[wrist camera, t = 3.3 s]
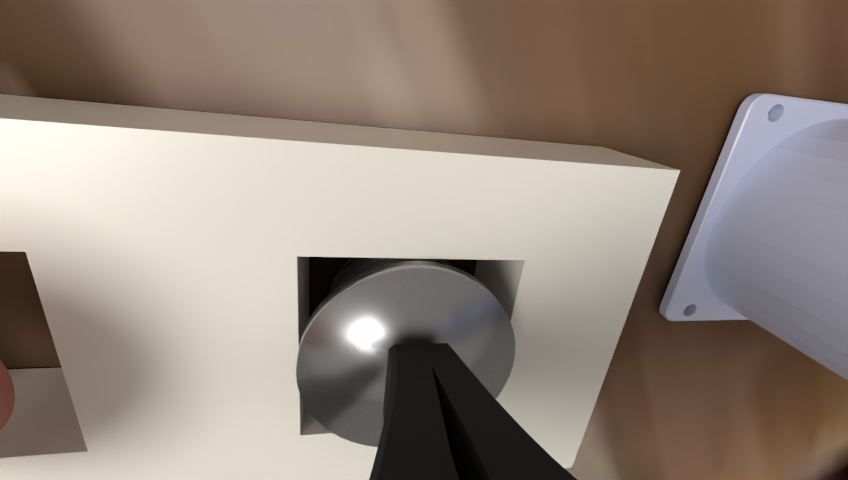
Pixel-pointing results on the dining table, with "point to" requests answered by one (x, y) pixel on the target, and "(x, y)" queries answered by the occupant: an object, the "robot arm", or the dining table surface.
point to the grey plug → (394, 336)
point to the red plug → (6, 395)
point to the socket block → (287, 276)
